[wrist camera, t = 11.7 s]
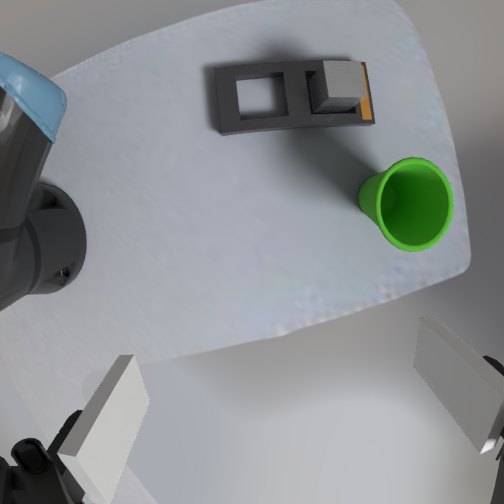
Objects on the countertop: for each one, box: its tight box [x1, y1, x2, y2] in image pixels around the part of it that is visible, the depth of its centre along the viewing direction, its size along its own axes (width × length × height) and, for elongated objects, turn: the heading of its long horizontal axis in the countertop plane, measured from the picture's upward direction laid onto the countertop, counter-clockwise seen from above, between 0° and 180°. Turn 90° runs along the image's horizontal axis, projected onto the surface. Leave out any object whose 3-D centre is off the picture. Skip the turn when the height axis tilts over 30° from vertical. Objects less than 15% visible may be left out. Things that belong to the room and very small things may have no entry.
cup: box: [358, 157, 454, 252], centre depth 33 cm, size 9×9×11 cm
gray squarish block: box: [309, 61, 367, 113], centre depth 32 cm, size 4×4×8 cm
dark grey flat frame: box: [215, 61, 375, 136], centre depth 35 cm, size 18×8×2 cm, turn 96°
